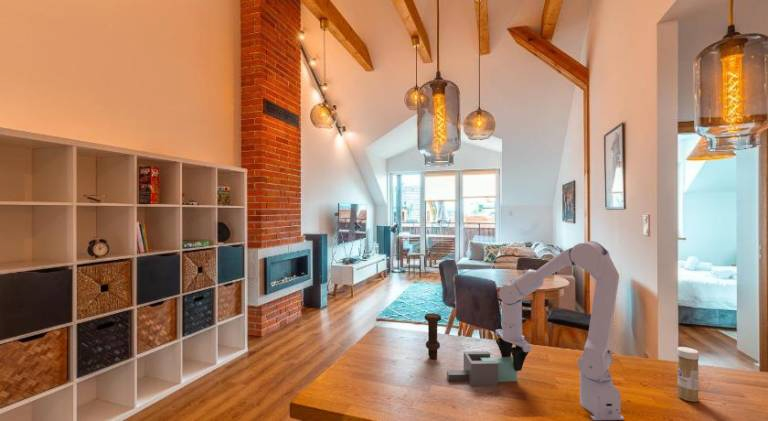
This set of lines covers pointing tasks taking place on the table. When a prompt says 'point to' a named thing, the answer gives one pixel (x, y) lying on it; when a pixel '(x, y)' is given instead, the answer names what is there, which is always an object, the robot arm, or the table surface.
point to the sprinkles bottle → (688, 373)
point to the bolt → (432, 334)
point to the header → (476, 370)
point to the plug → (504, 368)
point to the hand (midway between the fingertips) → (512, 366)
